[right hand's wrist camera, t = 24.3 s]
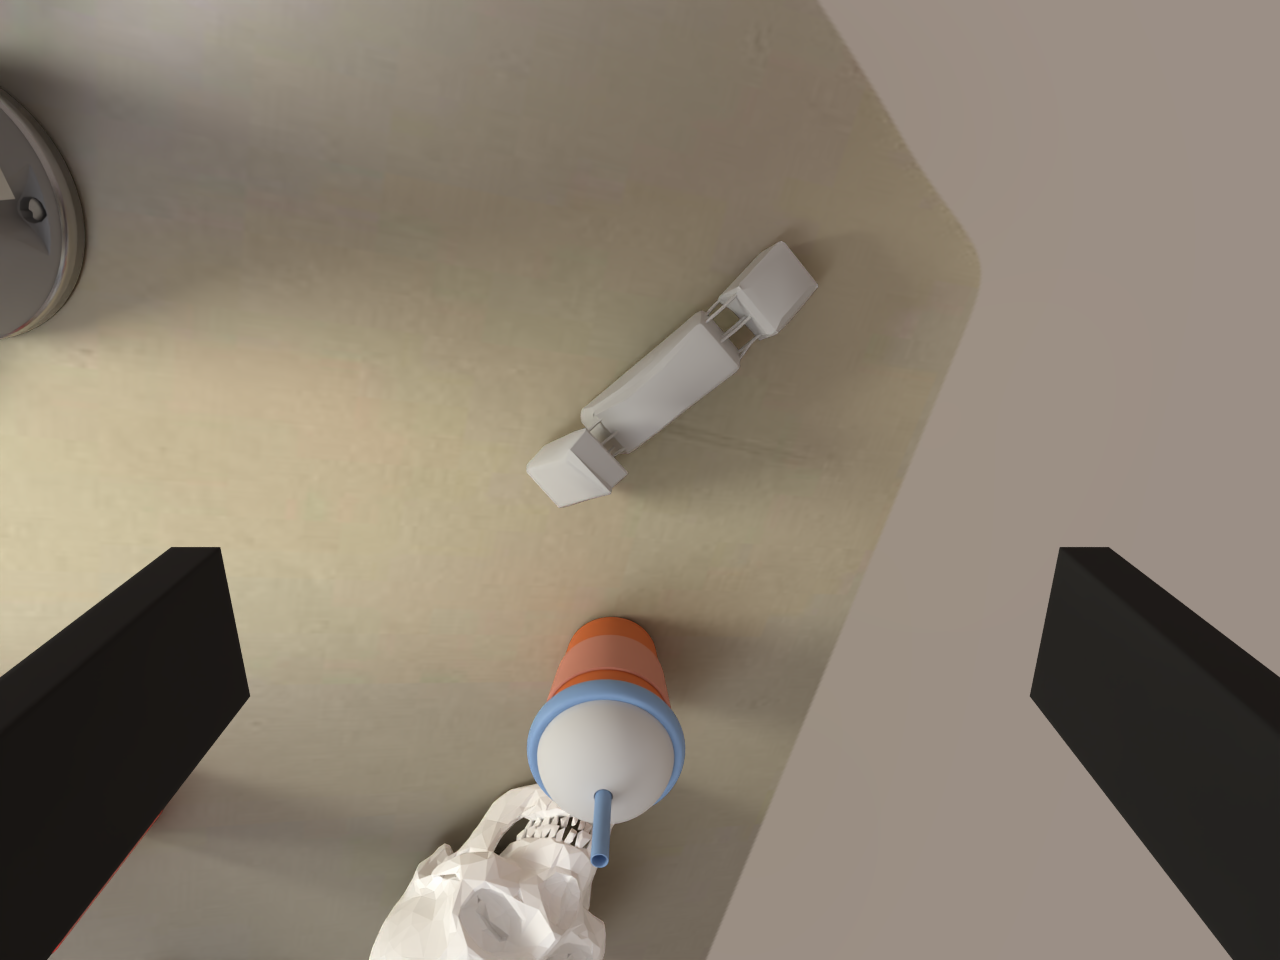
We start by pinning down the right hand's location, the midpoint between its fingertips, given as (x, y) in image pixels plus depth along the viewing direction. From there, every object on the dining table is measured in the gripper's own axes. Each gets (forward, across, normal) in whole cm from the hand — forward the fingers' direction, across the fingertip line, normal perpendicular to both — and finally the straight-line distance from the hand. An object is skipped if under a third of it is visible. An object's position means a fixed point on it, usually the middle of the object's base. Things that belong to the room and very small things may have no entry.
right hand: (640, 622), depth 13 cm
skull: (+36, -10, -42) cm, 56 cm away
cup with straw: (+36, -2, -24) cm, 44 cm away
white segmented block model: (+36, +2, -4) cm, 37 cm away
